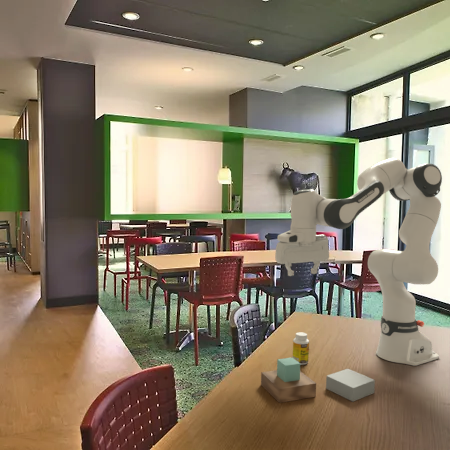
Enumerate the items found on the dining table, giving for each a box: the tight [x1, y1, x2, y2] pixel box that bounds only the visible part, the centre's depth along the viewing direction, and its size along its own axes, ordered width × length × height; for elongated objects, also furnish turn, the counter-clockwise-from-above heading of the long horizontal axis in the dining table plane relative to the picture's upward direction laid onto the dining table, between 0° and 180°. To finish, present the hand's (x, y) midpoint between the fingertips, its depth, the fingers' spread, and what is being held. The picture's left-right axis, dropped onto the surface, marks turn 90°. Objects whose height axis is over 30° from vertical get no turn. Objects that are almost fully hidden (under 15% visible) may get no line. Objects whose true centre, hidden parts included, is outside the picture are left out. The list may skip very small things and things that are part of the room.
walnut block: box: [260, 369, 317, 404], centre depth 131 cm, size 12×12×4 cm
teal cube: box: [276, 356, 301, 382], centre depth 131 cm, size 5×5×5 cm
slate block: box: [325, 368, 376, 402], centre depth 132 cm, size 10×10×4 cm
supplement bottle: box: [292, 331, 310, 366], centre depth 153 cm, size 6×6×10 cm
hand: (302, 274), depth 154 cm, fingers open, 8 cm apart
